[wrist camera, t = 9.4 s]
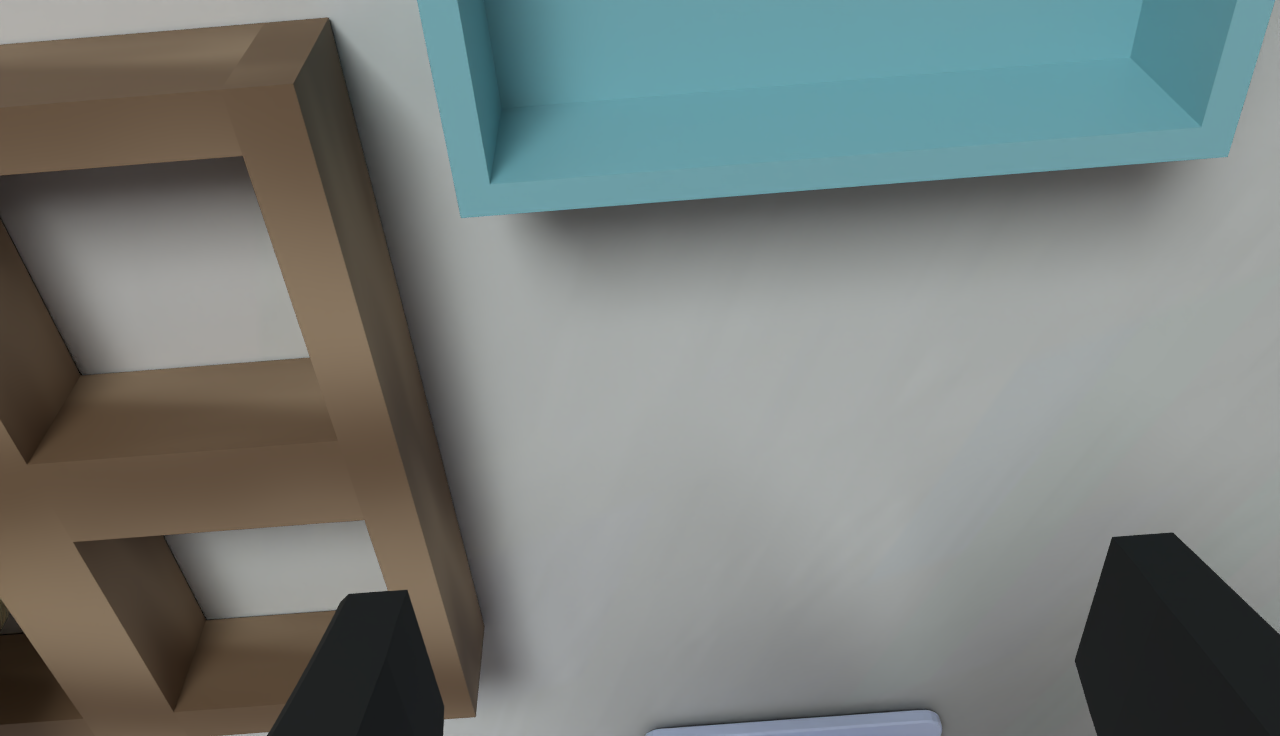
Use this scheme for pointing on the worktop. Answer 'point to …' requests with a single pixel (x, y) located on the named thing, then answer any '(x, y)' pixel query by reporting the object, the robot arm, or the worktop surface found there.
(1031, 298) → the worktop surface
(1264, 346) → the worktop surface
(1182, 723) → the robot arm
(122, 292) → the worktop surface
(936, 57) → the teal tote
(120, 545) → the wooden grid frame
